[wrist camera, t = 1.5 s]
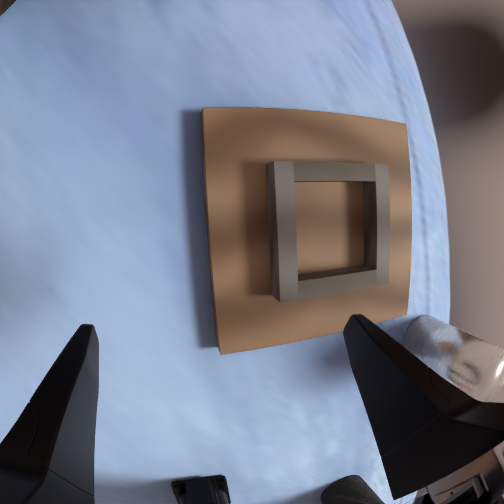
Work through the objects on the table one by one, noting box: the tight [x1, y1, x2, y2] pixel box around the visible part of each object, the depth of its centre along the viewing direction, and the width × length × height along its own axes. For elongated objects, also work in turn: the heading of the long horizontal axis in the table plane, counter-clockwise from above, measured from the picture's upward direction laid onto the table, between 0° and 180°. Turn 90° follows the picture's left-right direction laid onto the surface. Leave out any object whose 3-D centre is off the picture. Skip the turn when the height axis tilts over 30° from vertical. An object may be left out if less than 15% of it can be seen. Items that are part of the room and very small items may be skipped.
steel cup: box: [403, 315, 504, 402], centre depth 27 cm, size 6×6×13 cm
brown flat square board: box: [201, 107, 412, 355], centre depth 26 cm, size 20×20×4 cm
